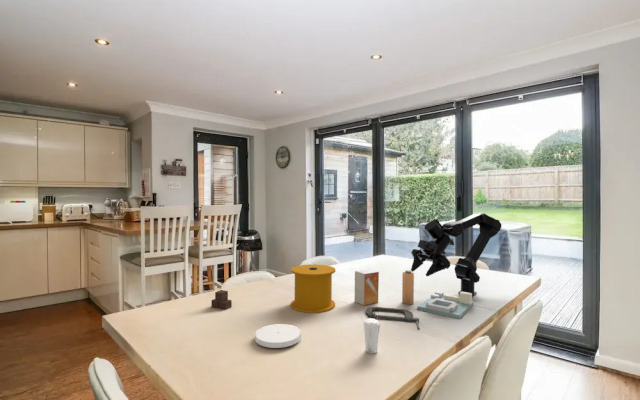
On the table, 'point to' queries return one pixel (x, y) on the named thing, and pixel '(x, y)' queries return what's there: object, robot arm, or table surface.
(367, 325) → the milkshake
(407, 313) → the c clamp
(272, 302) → the table surface
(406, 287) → the jaw post
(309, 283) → the spool
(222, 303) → the stack of crates
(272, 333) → the plastic lid
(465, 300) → the cream block
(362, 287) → the small box
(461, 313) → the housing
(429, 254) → the robot arm
